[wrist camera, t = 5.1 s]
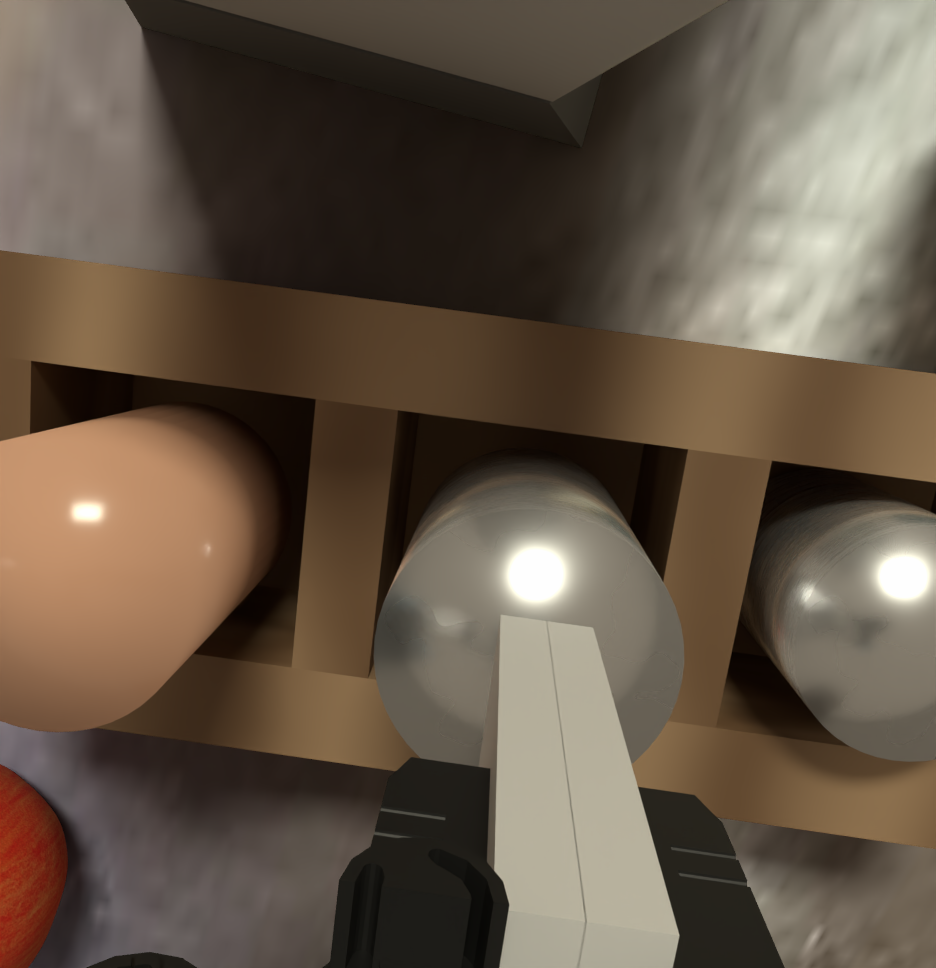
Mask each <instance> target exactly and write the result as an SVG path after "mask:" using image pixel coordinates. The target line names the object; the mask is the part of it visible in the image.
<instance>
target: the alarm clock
mask: <svg viewBox="0 0 936 968" xmlns="http://www.w3.org/2000/svg"><path fill="white" fill-rule="evenodd" d="M125 1H126V3H127V4H128V6H129V8H130V9H131V11H132V12H133V14H134V16H135V17H136V19H137V21H138V22H139V24H140V26H141V27H144V28H147V29H151V30H155V31H158V32H162V33H165V34H169V35H173V36H176V37H180V38H184V39H187V40H191V41H194V42H198V43H202V44H205V45H209V46H213V47H216V48H220V49H223V50H227V51H231V52H234V53H238V54H242V55H245V56H249V57H252V58H256V59H260V60H263V61H267V62H271V63H274V64H278V65H282V66H285V67H289V68H292V69H296V70H300V71H303V72H307V73H311V74H314V75H318V76H321V77H325V78H329V79H332V80H336V81H340V82H343V83H347V84H350V85H354V86H358V87H361V88H365V89H369V90H372V91H376V92H380V93H383V94H387V95H390V96H394V97H398V98H401V99H405V100H409V101H412V102H416V103H419V104H423V105H427V106H430V107H434V108H438V109H441V110H445V111H448V112H452V113H456V114H459V115H463V116H467V117H470V118H474V119H477V120H481V121H485V122H488V123H492V124H496V125H499V126H503V127H507V128H510V129H514V130H517V131H521V132H525V133H528V134H532V135H536V136H539V137H543V138H546V139H550V140H554V141H557V142H561V143H565V144H568V145H572V146H575V147H579V148H582V145H583V141H584V138H585V134H586V131H587V127H588V124H589V120H590V116H591V113H592V109H593V106H594V102H595V98H596V95H597V91H598V88H599V84H600V81H601V77H602V73H604V72H605V71H607V70H609V69H611V68H612V67H614V66H616V65H618V64H619V63H621V62H623V61H625V60H626V59H628V58H630V57H632V56H633V55H635V54H637V53H638V52H640V51H642V50H644V49H645V48H647V47H649V46H651V45H652V44H654V43H656V42H658V41H659V40H661V39H663V38H665V37H666V36H668V35H670V34H672V33H673V32H675V31H677V30H679V29H680V28H682V27H684V26H685V25H687V24H689V23H691V22H692V21H694V20H696V19H698V18H699V17H701V16H703V15H705V14H706V13H708V12H710V11H712V10H713V9H715V8H717V7H719V6H720V5H722V4H724V3H726V2H727V1H729V0H125Z"/></svg>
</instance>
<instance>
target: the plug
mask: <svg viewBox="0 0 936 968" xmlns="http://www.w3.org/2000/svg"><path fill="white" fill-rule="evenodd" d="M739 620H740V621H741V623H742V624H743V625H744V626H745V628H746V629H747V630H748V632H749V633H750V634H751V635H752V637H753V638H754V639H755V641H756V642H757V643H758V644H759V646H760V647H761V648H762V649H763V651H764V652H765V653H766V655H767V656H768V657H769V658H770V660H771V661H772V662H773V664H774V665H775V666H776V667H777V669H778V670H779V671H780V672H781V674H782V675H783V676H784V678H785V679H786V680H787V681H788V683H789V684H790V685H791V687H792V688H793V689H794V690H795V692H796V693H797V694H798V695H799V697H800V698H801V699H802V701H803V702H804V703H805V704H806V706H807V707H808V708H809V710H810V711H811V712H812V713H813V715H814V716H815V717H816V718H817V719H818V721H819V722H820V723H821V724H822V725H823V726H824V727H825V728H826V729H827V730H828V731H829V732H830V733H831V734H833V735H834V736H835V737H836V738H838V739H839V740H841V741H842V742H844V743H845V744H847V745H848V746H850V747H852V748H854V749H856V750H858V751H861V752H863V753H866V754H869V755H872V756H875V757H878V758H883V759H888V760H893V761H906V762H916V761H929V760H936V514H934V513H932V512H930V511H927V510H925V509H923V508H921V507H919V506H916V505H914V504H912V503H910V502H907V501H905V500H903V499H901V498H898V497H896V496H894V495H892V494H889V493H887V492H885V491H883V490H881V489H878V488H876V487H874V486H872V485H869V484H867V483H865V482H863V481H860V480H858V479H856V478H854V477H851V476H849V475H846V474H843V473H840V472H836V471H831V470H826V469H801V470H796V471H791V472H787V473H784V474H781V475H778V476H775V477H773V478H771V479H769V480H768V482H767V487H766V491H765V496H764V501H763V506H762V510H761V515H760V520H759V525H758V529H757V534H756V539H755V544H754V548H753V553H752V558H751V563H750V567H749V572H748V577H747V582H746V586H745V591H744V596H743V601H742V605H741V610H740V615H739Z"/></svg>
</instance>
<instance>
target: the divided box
mask: <svg viewBox="0 0 936 968" xmlns="http://www.w3.org/2000/svg"><path fill="white" fill-rule="evenodd" d="M167 402H195V403H200V404H205V405H209V406H212V407H215V408H218V409H221V410H223V411H226V412H228V413H230V414H232V415H234V416H236V417H237V418H239V419H240V420H242V421H243V422H245V423H246V424H247V425H249V426H250V427H251V428H252V429H253V430H255V431H256V432H257V433H258V434H259V435H260V436H261V437H262V438H263V439H264V441H265V442H266V443H267V444H268V445H269V447H270V448H271V450H272V451H273V452H274V454H275V455H276V457H277V459H278V461H279V463H280V464H281V466H282V469H283V471H284V474H285V476H286V479H287V482H288V486H289V490H290V496H291V504H292V519H291V526H290V533H289V536H288V539H287V543H286V546H285V548H284V550H283V552H282V554H281V557H280V558H279V560H278V561H277V563H276V565H275V566H274V568H273V569H272V570H271V571H270V572H269V573H268V575H267V576H266V577H265V578H264V579H263V580H262V581H261V582H260V583H259V584H258V585H257V586H256V587H255V589H254V590H253V591H252V592H251V593H250V594H249V595H248V596H247V597H246V598H245V599H244V600H243V601H242V602H241V603H240V604H239V605H238V606H237V608H236V609H235V610H234V611H233V612H232V613H231V614H230V615H229V616H228V617H227V618H226V619H225V620H224V621H223V622H222V623H221V624H220V626H219V627H218V628H217V629H216V630H215V631H214V632H213V633H212V634H211V635H210V636H209V637H208V638H207V639H206V640H205V641H204V642H203V643H202V645H201V646H200V647H199V648H198V649H197V650H196V651H195V652H194V653H193V654H192V655H191V656H190V657H189V658H188V659H187V660H186V661H185V662H184V664H183V665H182V666H181V667H180V668H179V669H178V670H177V671H176V672H175V673H174V674H173V675H172V676H171V677H170V678H169V679H168V680H167V681H166V683H165V684H164V685H163V686H162V687H161V688H160V689H159V690H158V691H157V692H156V693H155V694H154V695H153V696H152V697H151V698H150V699H148V700H147V701H146V702H145V703H144V704H143V705H142V706H140V707H139V708H137V709H135V710H134V711H132V712H131V713H129V714H128V715H126V716H124V717H122V718H120V719H118V720H115V721H113V722H111V723H108V724H105V725H102V726H99V727H95V728H100V729H107V730H114V731H121V732H128V733H135V734H142V735H149V736H156V737H162V738H169V739H176V740H183V741H190V742H197V743H204V744H211V745H218V746H225V747H232V748H239V749H246V750H253V751H260V752H267V753H274V754H280V755H287V756H294V757H301V758H308V759H315V760H322V761H329V762H336V763H343V764H350V765H357V766H364V767H371V768H378V769H385V770H392V771H397V770H398V769H399V768H400V767H401V766H402V765H403V764H404V763H405V762H406V761H408V760H409V759H410V758H411V757H414V758H420V757H419V756H418V755H417V754H416V753H415V752H414V751H413V750H412V749H411V748H410V747H409V746H408V745H407V743H406V742H405V741H404V739H403V738H402V737H401V735H400V734H399V732H398V731H397V730H396V728H395V726H394V725H393V723H392V721H391V719H390V717H389V715H388V714H387V712H386V709H385V707H384V704H383V701H382V699H381V696H380V693H379V689H378V685H377V680H376V676H375V666H374V639H375V633H376V628H377V622H378V618H379V615H380V612H381V609H382V606H383V603H384V601H385V598H386V596H387V594H388V592H389V589H390V587H391V585H392V582H393V580H394V578H395V576H396V573H397V571H398V569H399V566H400V564H401V562H402V560H403V557H404V555H405V553H406V550H407V548H408V546H409V544H410V541H411V539H412V537H413V535H414V532H415V530H416V528H417V525H418V523H419V521H420V519H421V516H422V514H423V512H424V510H425V508H426V506H427V504H428V502H429V500H430V498H431V497H432V495H433V494H434V492H435V491H436V489H437V488H438V487H439V486H440V484H441V483H442V482H443V481H444V480H445V479H446V478H447V477H448V476H449V475H450V474H451V473H453V472H454V471H455V470H456V469H457V468H459V467H461V466H462V465H464V464H465V463H467V462H468V461H470V460H472V459H474V458H476V457H479V456H481V455H484V454H487V453H490V452H493V451H497V450H502V449H508V448H535V449H541V450H546V451H550V452H553V453H556V454H559V455H562V456H564V457H566V458H568V459H570V460H572V461H574V462H576V463H578V464H579V465H581V466H582V467H584V468H585V469H587V470H588V471H589V472H590V473H591V474H593V475H594V476H595V477H596V478H597V479H598V480H599V481H600V482H601V483H602V485H603V486H604V487H605V488H606V489H607V491H608V492H609V494H610V495H611V497H612V498H613V500H614V502H615V503H616V505H617V506H618V508H619V510H620V511H621V513H622V515H623V516H624V518H625V520H626V521H627V523H628V525H629V526H630V528H631V530H632V531H633V533H634V535H635V536H636V538H637V540H638V541H639V543H640V545H641V546H642V548H643V550H644V551H645V553H646V555H647V556H648V558H649V560H650V561H651V563H652V565H653V566H654V568H655V570H656V571H657V573H658V575H659V576H660V578H661V580H662V581H663V583H664V584H665V586H666V588H667V590H668V592H669V594H670V596H671V598H672V600H673V603H674V605H675V607H676V611H677V614H678V617H679V620H680V624H681V629H682V635H683V641H684V669H683V677H682V683H681V687H680V691H679V694H678V698H677V701H676V703H675V706H674V708H673V710H672V713H671V715H670V718H669V719H668V721H667V723H666V724H665V726H664V728H663V729H662V731H661V733H660V734H659V736H658V737H657V738H656V739H655V741H654V742H653V743H652V744H651V746H650V747H649V748H648V749H647V750H646V751H645V752H644V753H643V754H642V755H641V756H640V757H639V758H638V759H637V760H636V761H635V762H634V763H633V764H632V768H633V772H634V775H635V779H636V782H637V786H638V787H643V788H650V789H657V790H664V791H671V792H678V793H685V794H692V795H695V796H696V797H697V798H698V799H699V800H700V801H701V802H702V803H703V804H704V805H705V806H706V807H707V808H708V809H709V810H710V811H711V812H712V813H713V814H714V815H715V816H716V817H718V818H725V819H732V820H739V821H745V822H752V823H759V824H766V825H773V826H780V827H787V828H794V829H801V830H808V831H815V832H822V833H829V834H836V835H843V836H850V837H857V838H863V839H870V840H877V841H884V842H891V843H898V844H905V845H912V846H919V847H926V848H933V849H936V760H929V761H916V762H906V761H893V760H888V759H883V758H878V757H875V756H872V755H869V754H866V753H863V752H861V751H858V750H856V749H854V748H852V747H850V746H848V745H847V744H845V743H844V742H842V741H841V740H839V739H838V738H836V737H835V736H834V735H833V734H831V733H830V732H829V731H828V730H827V729H826V728H825V727H824V726H823V725H822V724H821V723H820V722H819V721H818V719H817V718H816V717H815V716H814V715H813V713H812V712H811V711H810V710H809V708H808V707H807V706H806V704H805V703H804V702H803V701H802V699H801V698H800V697H799V695H798V694H797V693H796V692H795V690H794V689H793V688H792V687H791V685H790V684H789V683H788V681H787V680H786V679H785V678H784V676H783V675H782V674H781V672H780V671H779V670H778V669H777V667H776V666H775V665H774V664H773V662H772V661H771V660H770V658H769V657H768V656H767V655H766V653H765V652H764V651H763V649H762V648H761V647H760V646H759V644H758V643H757V642H756V641H755V639H754V638H753V637H752V635H751V634H750V633H749V632H748V630H747V629H746V628H745V626H744V625H743V624H742V623H741V621H740V620H739V615H740V610H741V605H742V601H743V596H744V591H745V586H746V582H747V577H748V572H749V567H750V563H751V558H752V553H753V548H754V544H755V539H756V534H757V529H758V525H759V520H760V515H761V510H762V506H763V501H764V496H765V491H766V487H767V482H768V480H769V479H771V478H773V477H775V476H778V475H781V474H784V473H787V472H791V471H796V470H801V469H826V470H831V471H836V472H840V473H843V474H846V475H849V476H851V477H854V478H856V479H858V480H860V481H863V482H865V483H867V484H869V485H872V486H874V487H876V488H878V489H881V490H883V491H885V492H887V493H889V494H892V495H894V496H896V497H898V498H901V499H903V500H905V501H907V502H910V503H912V504H914V505H916V506H919V507H921V508H923V509H925V510H927V511H930V512H932V513H934V514H936V374H934V373H926V372H918V371H911V370H903V369H896V368H888V367H880V366H873V365H865V364H858V363H850V362H843V361H835V360H827V359H820V358H812V357H805V356H797V355H790V354H782V353H774V352H767V351H759V350H752V349H744V348H736V347H729V346H721V345H714V344H706V343H699V342H691V341H683V340H676V339H668V338H661V337H653V336H646V335H638V334H630V333H623V332H615V331H608V330H600V329H592V328H585V327H577V326H570V325H562V324H555V323H547V322H539V321H532V320H524V319H517V318H509V317H502V316H494V315H486V314H479V313H471V312H464V311H456V310H448V309H441V308H433V307H426V306H418V305H411V304H403V303H395V302H388V301H380V300H373V299H365V298H358V297H350V296H342V295H335V294H327V293H320V292H312V291H304V290H297V289H289V288H282V287H274V286H267V285H259V284H251V283H244V282H236V281H229V280H221V279H214V278H206V277H198V276H191V275H183V274H176V273H168V272H160V271H153V270H145V269H138V268H130V267H123V266H115V265H107V264H100V263H92V262H85V261H77V260H70V259H62V258H54V257H47V256H39V255H32V254H24V253H16V252H9V251H1V250H0V441H4V440H8V439H12V438H16V437H21V436H25V435H29V434H33V433H38V432H42V431H46V430H50V429H55V428H59V427H63V426H67V425H72V424H76V423H80V422H84V421H89V420H93V419H97V418H102V417H106V416H110V415H114V414H119V413H123V412H127V411H131V410H136V409H140V408H144V407H148V406H153V405H157V404H162V403H167Z"/></svg>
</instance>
